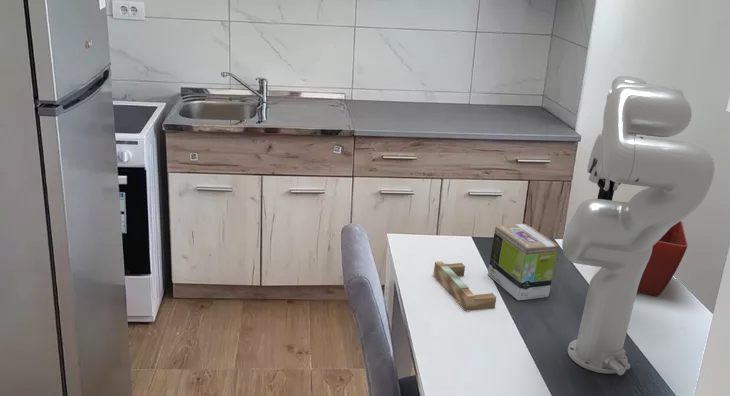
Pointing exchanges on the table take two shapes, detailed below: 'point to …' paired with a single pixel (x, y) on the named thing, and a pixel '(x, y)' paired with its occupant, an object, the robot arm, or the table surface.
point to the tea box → (522, 261)
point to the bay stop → (461, 287)
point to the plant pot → (663, 261)
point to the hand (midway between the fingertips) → (603, 204)
